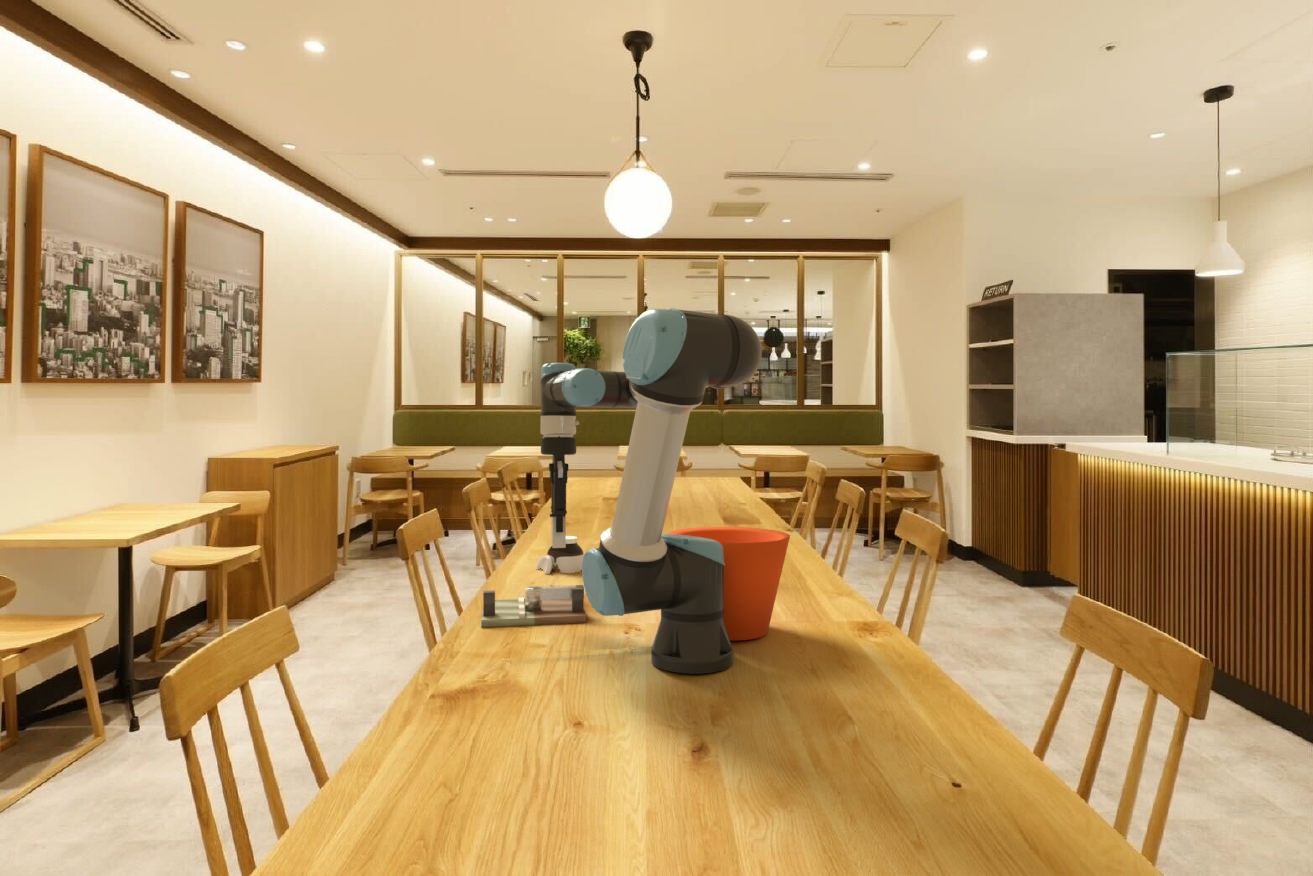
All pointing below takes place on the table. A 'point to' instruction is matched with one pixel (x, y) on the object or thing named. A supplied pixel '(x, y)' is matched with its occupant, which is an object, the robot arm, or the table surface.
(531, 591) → the lock bar
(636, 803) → the table surface
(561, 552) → the spread jar
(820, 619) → the table surface
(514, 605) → the lever base plate
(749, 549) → the flowerpot
